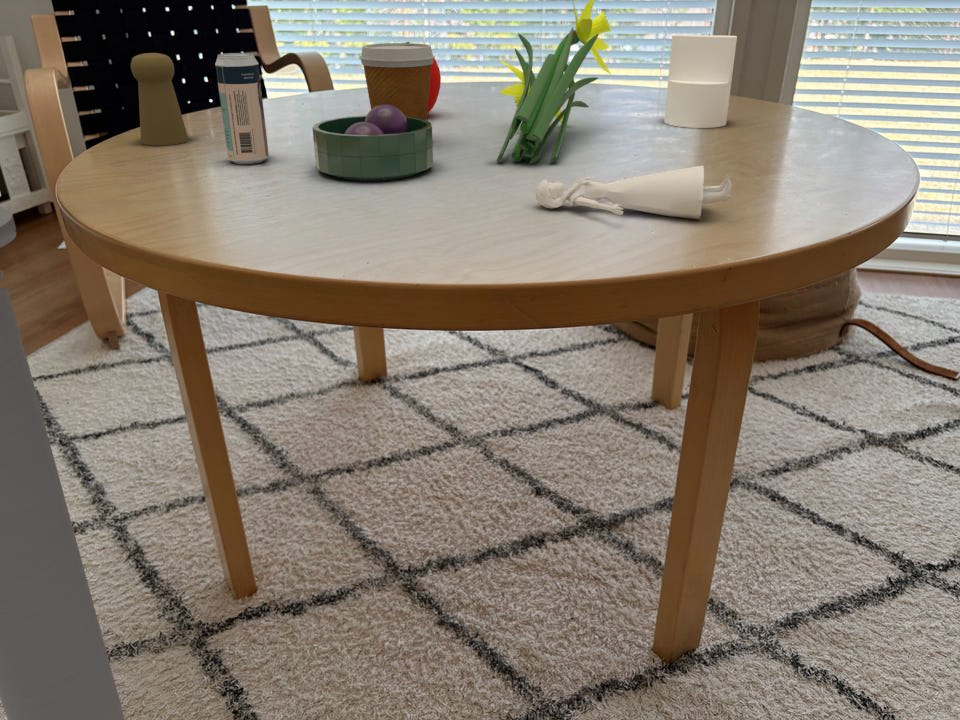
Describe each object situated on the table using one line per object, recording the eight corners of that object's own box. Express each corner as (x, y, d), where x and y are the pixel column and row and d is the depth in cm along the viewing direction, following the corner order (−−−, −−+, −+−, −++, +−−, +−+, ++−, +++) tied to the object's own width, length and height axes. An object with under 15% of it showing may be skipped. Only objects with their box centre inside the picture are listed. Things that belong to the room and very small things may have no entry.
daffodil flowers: (435, 166, 98) (500, 57, 124) (537, 229, 101) (581, 109, 126) (501, 49, 87) (558, -45, 112) (615, 124, 89) (646, 15, 115)
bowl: (330, 187, 86) (326, 139, 83) (307, 162, 97) (303, 119, 94) (448, 177, 90) (447, 130, 88) (414, 154, 101) (412, 112, 99)
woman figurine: (737, 181, 68) (525, 185, 72) (733, 232, 70) (527, 234, 74) (727, 152, 79) (542, 158, 82) (724, 198, 81) (543, 201, 84)
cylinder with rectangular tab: (659, 125, 119) (667, 37, 113) (669, 116, 126) (677, 32, 121) (722, 129, 116) (734, 39, 110) (729, 119, 123) (739, 34, 118)
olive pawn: (197, 138, 111) (184, 51, 106) (170, 146, 105) (155, 56, 101) (159, 135, 112) (145, 50, 107) (131, 144, 107) (114, 55, 102)
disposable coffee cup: (451, 144, 107) (449, 46, 101) (390, 153, 101) (385, 50, 96) (410, 133, 113) (406, 41, 108) (350, 142, 108) (344, 45, 103)
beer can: (277, 159, 98) (266, 53, 93) (248, 167, 94) (235, 57, 89) (249, 155, 100) (236, 51, 95) (219, 162, 97) (204, 55, 92)
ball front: (370, 104, 90) (391, 88, 93) (348, 132, 93) (370, 116, 97) (402, 137, 91) (423, 121, 94) (380, 164, 94) (400, 147, 98)
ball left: (352, 179, 89) (344, 136, 86) (341, 163, 93) (333, 121, 90) (395, 169, 90) (388, 126, 87) (383, 153, 94) (376, 111, 91)
